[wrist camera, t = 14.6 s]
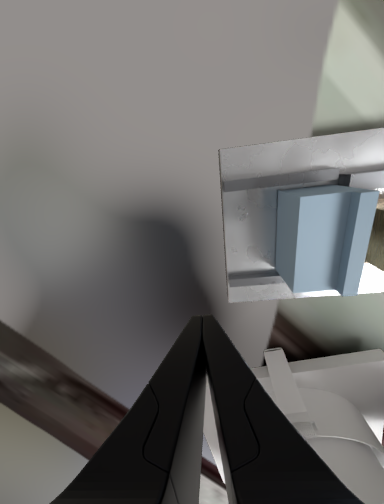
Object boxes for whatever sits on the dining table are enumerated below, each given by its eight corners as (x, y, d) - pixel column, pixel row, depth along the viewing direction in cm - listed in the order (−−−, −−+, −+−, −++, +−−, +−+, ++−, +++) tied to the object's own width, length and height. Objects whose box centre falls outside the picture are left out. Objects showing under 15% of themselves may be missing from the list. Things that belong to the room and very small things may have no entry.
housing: (320, 265, 19) (357, 295, 14) (275, 268, 19) (297, 299, 15) (330, 184, 16) (379, 190, 12) (278, 190, 17) (306, 198, 12)
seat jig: (454, 278, 20) (494, 296, 17) (227, 295, 22) (231, 314, 19) (522, 110, 15) (595, 97, 12) (218, 150, 17) (222, 147, 14)
